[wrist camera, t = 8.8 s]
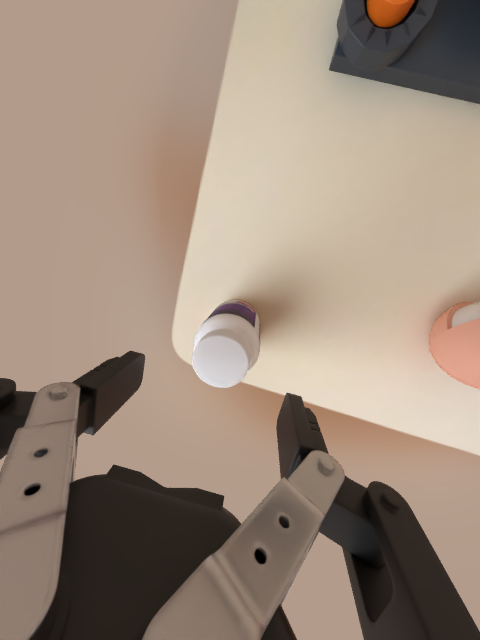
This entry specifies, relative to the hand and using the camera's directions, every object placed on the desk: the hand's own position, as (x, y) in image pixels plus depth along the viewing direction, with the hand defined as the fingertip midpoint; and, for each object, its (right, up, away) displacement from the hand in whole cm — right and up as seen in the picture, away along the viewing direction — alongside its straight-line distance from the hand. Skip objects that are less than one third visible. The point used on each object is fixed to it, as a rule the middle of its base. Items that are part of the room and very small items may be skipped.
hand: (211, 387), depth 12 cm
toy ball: (+23, +3, +11) cm, 26 cm away
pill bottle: (+1, +3, +12) cm, 13 cm away
